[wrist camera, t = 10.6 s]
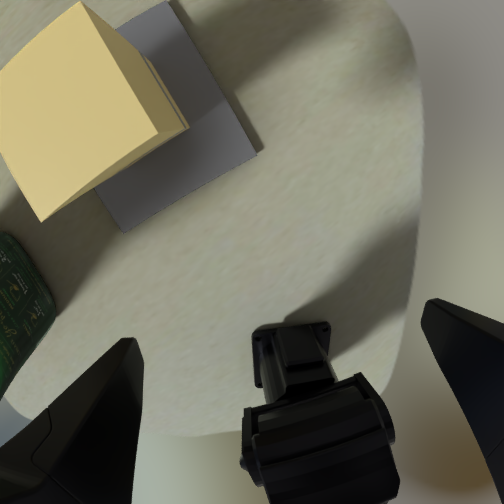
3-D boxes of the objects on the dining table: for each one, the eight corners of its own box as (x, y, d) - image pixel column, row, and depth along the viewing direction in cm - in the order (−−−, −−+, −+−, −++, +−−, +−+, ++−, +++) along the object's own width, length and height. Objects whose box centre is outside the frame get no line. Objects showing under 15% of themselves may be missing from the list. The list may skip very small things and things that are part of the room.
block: (190, 127, 17) (159, 133, 7) (128, 167, 18) (41, 223, 8) (150, 61, 15) (80, -1, 5) (90, 103, 16) (-25, 99, 6)
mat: (256, 154, 19) (257, 155, 19) (125, 230, 20) (123, 233, 19) (167, 3, 14) (166, 0, 14) (42, 89, 15) (38, 89, 15)
